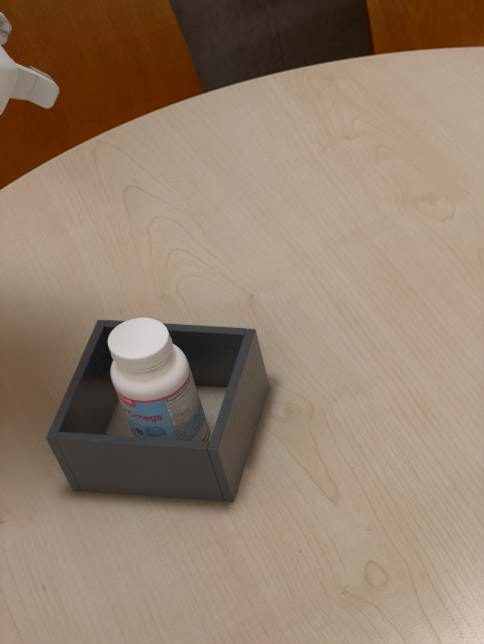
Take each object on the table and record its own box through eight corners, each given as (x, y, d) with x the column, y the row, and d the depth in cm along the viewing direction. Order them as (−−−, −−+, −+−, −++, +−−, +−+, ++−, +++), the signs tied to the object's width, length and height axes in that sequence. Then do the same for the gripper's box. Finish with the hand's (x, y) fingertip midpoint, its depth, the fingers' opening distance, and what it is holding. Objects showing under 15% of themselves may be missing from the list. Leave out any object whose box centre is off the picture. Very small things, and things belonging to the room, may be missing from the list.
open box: (77, 501, 88) (45, 438, 82) (124, 385, 96) (97, 319, 89) (237, 512, 87) (216, 449, 81) (272, 394, 95) (255, 328, 88)
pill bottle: (124, 447, 90) (79, 344, 81) (174, 404, 93) (137, 300, 83) (176, 477, 88) (137, 376, 79) (225, 432, 91) (193, 329, 81)
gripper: (-119, -24, 58) (104, 92, 69) (-212, -163, 67) (-2, -42, 78) (-159, 82, 61) (62, 177, 72) (-243, -67, 70) (-35, 38, 81)
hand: (28, 62), depth 75 cm, fingers open, 8 cm apart
